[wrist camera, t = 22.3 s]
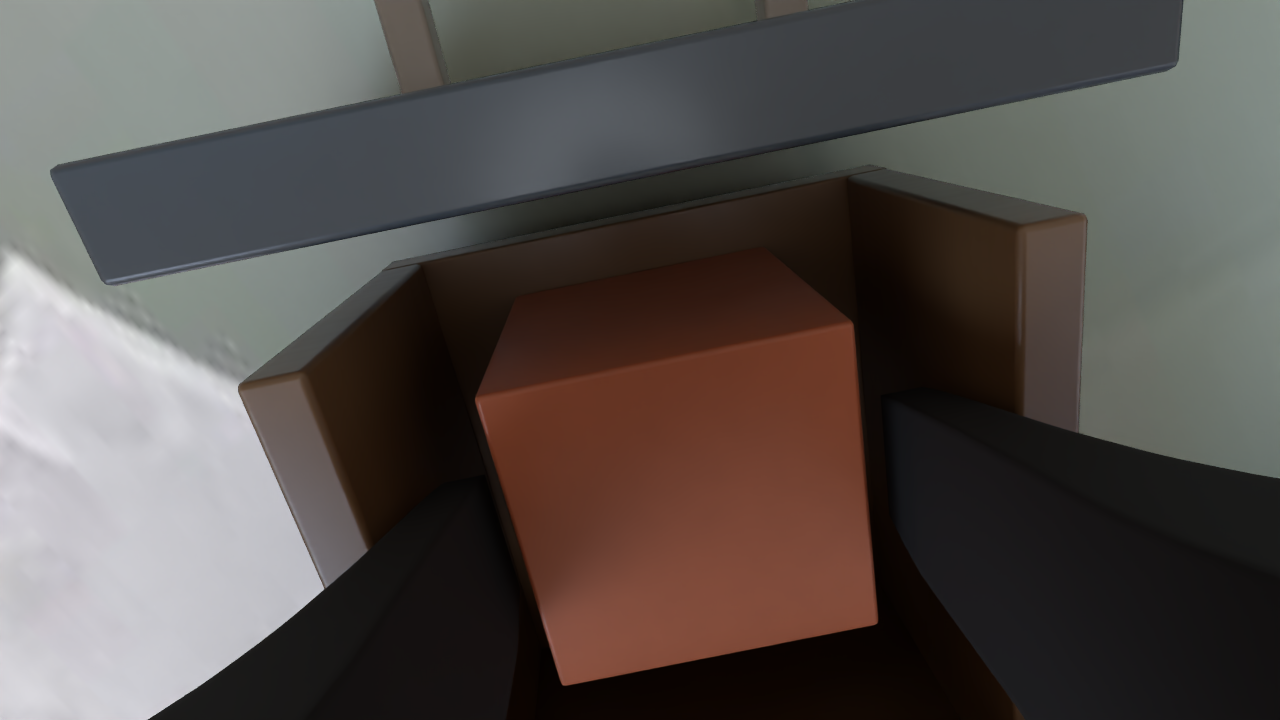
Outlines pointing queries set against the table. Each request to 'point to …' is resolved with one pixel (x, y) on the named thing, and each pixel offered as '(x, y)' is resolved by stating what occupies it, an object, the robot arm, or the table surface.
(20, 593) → the table surface
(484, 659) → the robot arm
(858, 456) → the block
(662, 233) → the drawer
